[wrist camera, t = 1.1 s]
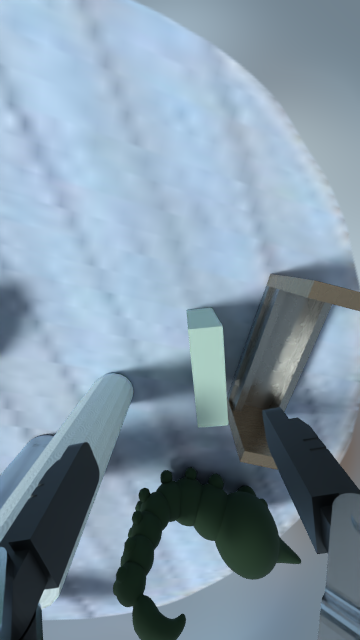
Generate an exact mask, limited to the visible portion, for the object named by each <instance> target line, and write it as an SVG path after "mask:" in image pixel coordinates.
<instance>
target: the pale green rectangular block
mask: <svg viewBox="0 0 360 640" xmlns="http://www.w3.org/2000/svg"><path fill="white" fill-rule="evenodd" d="M187 323H188V334H189V344H190V354H191V364H192V374H193V384H194V394H195V404H196V414H197V424H198V428H201V427H214V426H227V425H228V411H227V393H226V375H225V357H224V339H223V326H222V324H221V322H220V321H219V319H218V318H217V316H216V314H215V313H214V311H213V309H212V308H201V309H191V310H187Z"/></svg>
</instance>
